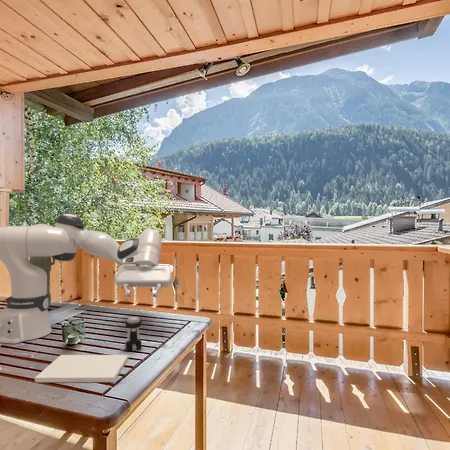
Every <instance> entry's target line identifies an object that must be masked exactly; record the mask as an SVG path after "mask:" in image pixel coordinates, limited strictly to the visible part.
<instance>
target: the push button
mask: <svg viewBox="0 0 450 450" xmlns="http://www.w3.org/2000/svg"><path fill="white" fill-rule="evenodd" d="M142 323H143V321H142V319H140V317H138V316H131V317H128V318H127V320H125V321H124V324H125V328H126V329H127V339H126V341H125V342H124V344H125V345H121V346H120V351H126V352H132V351H137V350H140V351H141V350H142V341H141V338H140V327H142Z"/></svg>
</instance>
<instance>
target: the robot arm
mask: <svg viewBox="0 0 450 450" xmlns="http://www.w3.org/2000/svg"><path fill="white" fill-rule="evenodd" d="M85 227H86V224H84V222H83V220H82V219H81V217H79V216H77V215H76V214H72V213H64V214H60V215H59V216H57V219H56V221H55V226H51V225H50V224H45V223H37V224H33V225H26V226H25V225H19V226H18V225H17V226H16V225H11V226H10V225H9V226H8V225H7V226H2V227H1V226H0V261H1V262H2V263H3V264H4V266H5V267H6V269H7V271H8V273H9V278H10V291H11V296H9V297H7V298H6V299H3V300H2V301H4V302H3V304H6V305H5V307H4V308H3V309H1V310H0V343H2V344H3V343H4V344H19V343H23V342H25V341H30V340H31V341H32V340H36V339H39V338H43V337H45V336H47V335H49V334H51V333H52V332H53V330H52V326H51V322H50V317H49V310H48V309H49V308H48V293H47V274H46V272H45V271H44V270H43V269H42V268H40V267H37V266H35V265H32V264H31V263H30V257H46V256H50V257H51V259H52V260H53V259H55V261H58V262H66V263H67V262H71V261H72V260H74V259H75V257H76V255H77V250H78V246H79V248H80V249H82V251H84V252H86V253H87V254H90V255H92V256H95V257H98V258H102V259H104V260H108V261H111V262H114V263H117V264H118V265H120V266H119V267H118V269H117V271H116V274H115V278H114V282H115V284H116V286H117V287H119V288H121V287H122V288H123V287H124V290H125V294H124V295H125V297H129V298H130V297H131V295H132V291H131V290H130V287H131V288H137V287H138V288H156V289H154V290H152V297H155V298H157V297H158V294H159V292H160V291H161V290H162V288H170V287H171V286H172V283H173V281H172V279H173V278H172V274H173V273H174V270H175V267H174V266H173V265H172V264H169V263H167V264H166V263H165V264H164V263H160V253H161V250H162V241H163V240H162V236H161V234H160V233H159V232H158V231H157V230H155V229H152V228H146V229H144V230H142V232H141V233H140V234H139V235H138V236H136V237H134V238H131V239H126V240H124V241H122V242H121V243H120V244H119V243H118V242H117V241H116V240H115V239H114V238H113V237H112V236H111V235H109V234H107V233H106V232H104V231H103V232H102V231H99V230H89V229H85Z"/></svg>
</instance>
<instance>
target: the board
mask: <svg viewBox="0 0 450 450" xmlns="http://www.w3.org/2000/svg"><path fill="white" fill-rule="evenodd" d="M128 360H129V354H61V355H59V356H58V357H57V358H56V359H54V361H52V362H51V363H50V364H48V366H46V367H45V368H44V369H43V370H41V372H39V374H38V375H36V376H35V377H34V383H115V381H116V380H117V378H118V376H119V375H120V373H121V372H122V370H123V369H124V367H125V365H126V363H127V361H128Z"/></svg>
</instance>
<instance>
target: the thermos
mask: <svg viewBox="0 0 450 450" xmlns="http://www.w3.org/2000/svg"><path fill="white" fill-rule="evenodd" d="M29 261H30V263H31V264H32V265H35V266H37V267H40V268H42V269H43V270H44V271H45V272H46V274H47V293H48V309H50V308H51V301H52V294H51V292H50V288H51V286H50V285H51V282H50V281H51V270H52V266H53V265H55V262H56V260H55V259H53V258H52V257H51V256H46V257H29Z"/></svg>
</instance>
